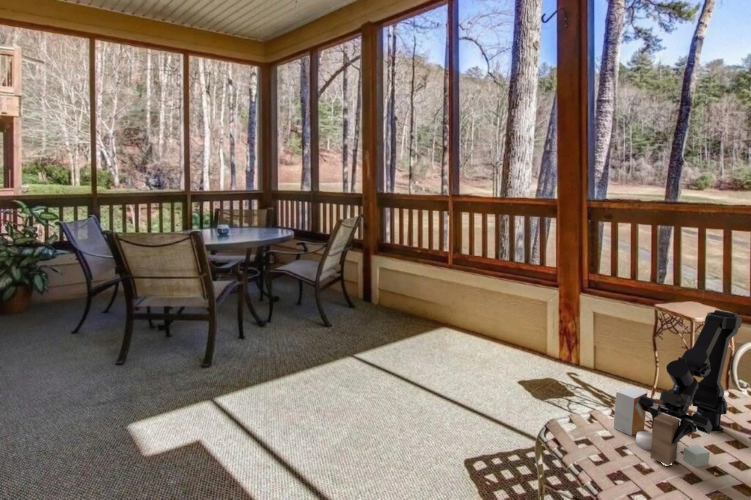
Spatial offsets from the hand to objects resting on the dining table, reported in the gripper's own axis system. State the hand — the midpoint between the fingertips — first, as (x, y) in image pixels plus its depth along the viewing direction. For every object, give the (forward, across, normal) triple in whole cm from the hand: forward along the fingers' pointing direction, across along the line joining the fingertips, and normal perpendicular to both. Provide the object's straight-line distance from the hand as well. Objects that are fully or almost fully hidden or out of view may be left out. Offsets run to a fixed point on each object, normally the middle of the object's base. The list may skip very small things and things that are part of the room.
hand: (662, 439), depth 142 cm
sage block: (0, +6, +11) cm, 13 cm away
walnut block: (+4, 0, +6) cm, 7 cm away
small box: (-3, -15, +14) cm, 21 cm away
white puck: (+1, -7, +10) cm, 12 cm away
